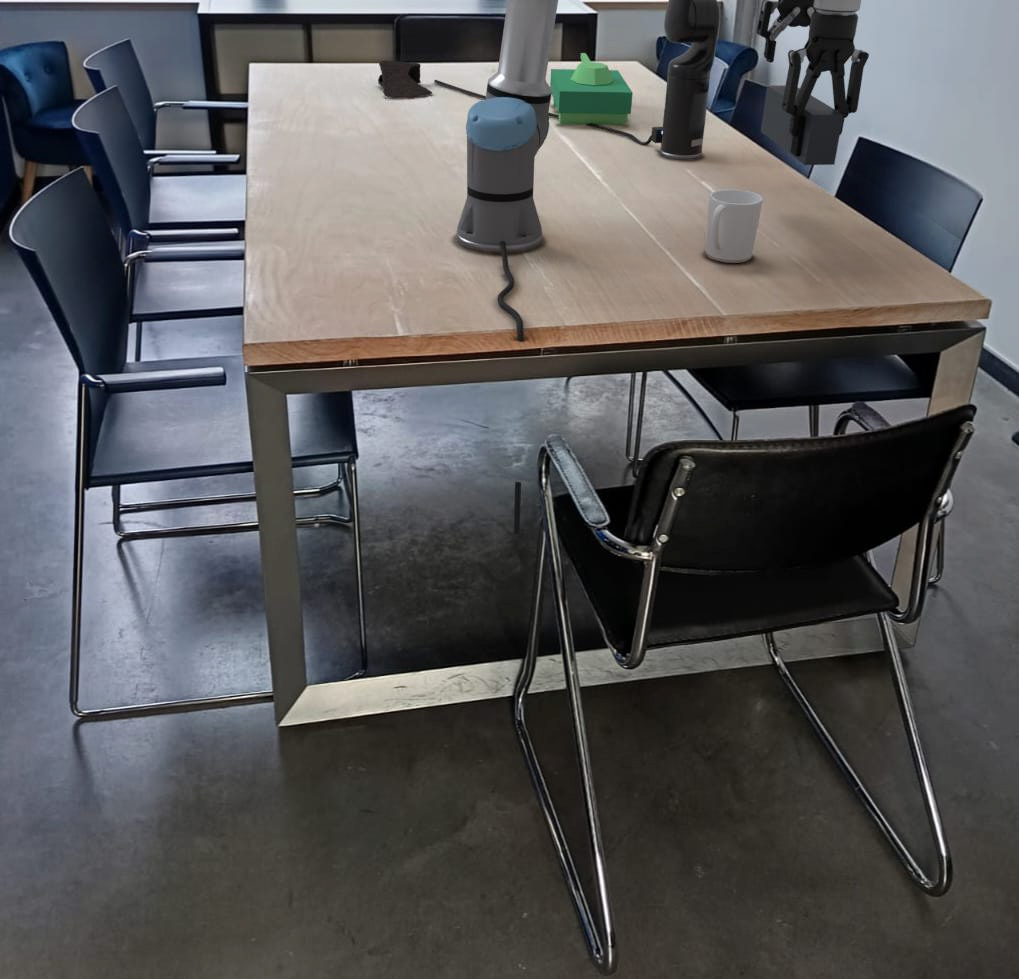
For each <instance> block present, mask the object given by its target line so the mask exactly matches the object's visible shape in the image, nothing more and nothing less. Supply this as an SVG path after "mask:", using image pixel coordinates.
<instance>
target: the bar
mask: <svg viewBox="0 0 1019 979" xmlns="http://www.w3.org/2000/svg"><path fill="white" fill-rule="evenodd" d="M785 86H786V85H767V86H766V93H765V100H764V105H763V113H762V119H761V126H760V133H761V134H763V136H765V137H767V138H768V139H770V140H771V141H772V142H774V143H775V145H777V146H778V147H779V148H782V149H783V150H784V151H786V152H787V153H788V154H789V155H791V156H792V157H793V158H794V159H796V160H798V162H800V163H801V164H803V166H835V163H836V158H837V153H838V146H839V141H840V136H841V135H840V131H841V125H842V120H843V114H841V113H840V112H838V111H836V110H835V109H834V107H832V106H830V105H828V104H826V103H825V102H823V101H821V100H820V99H818V98H817V97H814V96H813V95H812V94H811V95H810V98H809V100H808V102H807V105H806V107H805V110H804V112H803V114H802V116H804V117H805V118H806V122H805V128H804V134H803V141H802V147H801V153H800V156H795V155H793V154H792V153H791V152H790V151H791V145H792V138H793V136H792V135H791V134H789V128H790V121H791V114H789V113H787V112H785V111H784V110H782V102H783V96H784V91H785ZM799 90H800V87H798V88H797V93H796V97H797V94H798V92H799ZM795 99H796V98H795Z"/></svg>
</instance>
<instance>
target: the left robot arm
mask: <svg viewBox="0 0 1019 979" xmlns="http://www.w3.org/2000/svg"><path fill="white" fill-rule="evenodd" d="M558 4H559V0H507V3H506V10H505V18H504V23H503V24H504V26H503V32H502V39H501V46H500V52H499V53H500V54H499V59H498V60H499V61H498V68H497V72H496V73H494V74H493V75H492V76H490V77H489V78H488V79H487V85H486V91H485V92H486V93H485V96H486V98H485V99H484V100H479V101H477V102H475V103H474V104H473V105H471V107H470V108H469V109H468V111H467V119H466V123H465V130H466V131H465V132H466V192H467V193H466V198H465V202H464V205H463V209H462V211H461V214H460V218H459V220H458V224H457V228H456V241H457V243H458V244H459V245H461V246H462V247H464V248H466V249H468V250H470V251H475V252H479V253H486V254H497V255H499V254H500V255H501V262H502V269H503V272H504V275H505V276H506V278H507V280H508V281H507V282H508V283H507V286H506V287H504V288H503V289H502V290H501V291H500V292H499V294H498V295H497V303H498V306H500V308H501V309H503V311H505V312H506V313H508V314H509V315H510V316H511V317H512V318H513V319H514V321H515V323H516V339H517V342H521V343H522V342H524V341H525V336H524V320H523V319H522V317H521V314H520V313H518V311H517V310H516V309H514V308H513V307H512V306H510V305H509V304H508V303H506V301H505V300H504V299H505V297H506V296H507V295H508V294H509V293H510V292H512V290H513V289H514V287H515V278H514V275H513V274H512V272H511V270H510V265H509V257H508V254H517V253H524V252H527V251H530V250H533V249H536V248H538V247H539V246H540V245H541V244H542V243H543V229H542V224H541V221H540V220H541V219H540V218H539V214H538V213H539V212H538V210H537V206H536V204H535V199H534V184H535V181H534V180H535V158H536V155H537V154H538V152H539V150H541V147H542V146H543V145H544V143H545V141H546V139H547V137H548V133H549V130H550V116H548V113H550V107H551V100H552V89H551V88H550V85H549V83H548V82H547V79H546V78H547V74H548V73H547V72H548V66H549V60H550V54H551V47H552V42H553V34H554V29H555V23H556V17H557V10H558ZM861 4H862V0H814V3H813V7H814V8H815V9H816V11H814V12H813V13H812V16H811V22H810V27H809V28H808V38H807V41H806V43H805V44H804V46H803V47H802V48H799V49H796V50H793V49H790V50H789V51H788V52H787V58H788V69H787V75H786V76H787V77H786V81H785V85H784V86H785V91H784V96H783V102H782V110H784V111H785V112H787V113H789V114H791V121H790V128H789V134H791V135H792V136H793V138H792V145H791V151H790V152H791V153H792V154H793V155H795V156H800V153H801V147H802V141H803V134H804V128H805V122H806V118H805V117H804V116H802V114H803V112H804V110H805V107H806V105H807V102H808V100H809V98H810V95H811V96H812V93H813V90H814V88H815V86H816V83H817V81H818V80H819V78H820V77H821V75H822V73H824V72H827V71H828V72H830V75H831V84H832V96H833V109H835V110H836V111H838V112H840V113H841V114H843V120H842V125H841V131H840V136H841V135H842V133H843V131H844V130H843V128H844V125H845V124H844V123H845V119H847V118H848V117H849V115H850V114H855V113H856V112H857V111H858V108H859V100H860V94H861V87H862V80H863V75H864V68H865V66H866V64H867V61H868V60H869V57H870V55H869V53H868V52H866V51H864V50H862V49H857V48H856V46H855V42H854V41H855V37H856V32H857V27H858V22H859V15H858V14H857V12H859V11H860V9H861V6H862V5H861ZM805 57H806V58H807V60H808V65H807V67H806V70H805V74H804V77H803V80H802V83H801V85H800V87H799V81H800V76H801V72H802V63H803V62H804V60H805ZM849 59H850V61H851V64H850V71H849V78H848V84H847V91H846V84H845V76H846V71H845V64H846V63H847V62H848V61H849ZM797 88H800V90H799V92H798V94H797V97H796V93H797ZM795 98H796V99H795ZM521 501H522V482H520V481H515V482H514V505H513V507H514V510H513V516H514V517H513V534H515V535H519V534H520V533H521V505H522V504H521V503H522V502H521Z"/></svg>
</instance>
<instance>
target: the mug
mask: <svg viewBox="0 0 1019 979" xmlns="http://www.w3.org/2000/svg"><path fill="white" fill-rule="evenodd" d="M708 197H709V198H708V208H707V209H708V210H707V223H706V224H707V225H706V238H705V255H706V257H708V258H709V259H711V260H714V261H716V262H719V263H720V262H721V263H728V264H738V263H745V262H748V261H750V260H751V259H752V257H753V253H754V248H755V242H756V237H757V231H758V227H759V222H760V216H761V210H762V206H763V200H764V199H763V196H762V195H760V194H759V193H756V192H753V191H750V190H744V189H736V188H735V189H734V188H725V189H717V190H713V191H711V192H710V193H709V196H708Z"/></svg>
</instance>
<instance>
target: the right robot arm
mask: <svg viewBox="0 0 1019 979" xmlns="http://www.w3.org/2000/svg"><path fill="white" fill-rule="evenodd" d="M813 3H814V0H762V1H761V5H760V10H759V16H758V20H757V26H756V30H755V31H756V32H755V33H756V34H757V35H758V36H760V37H762V38H764V39H765V42H764V50H763V58H764V59H765V60H766V62H767V63H774V61H775V55H776V54H775V53H776V47H777V40H776V39H777V38H778V37H779V35H780V34H781V33H782V32H784V31H785V30H786V29H787V27H790V28H796V27H802V28H808V27H809V28H810V22H811V16H812V13H813V12H814V11H816V9H815V8H814V7H813ZM720 9H721V8H720V5H719V2H718V0H668V2H667V5H666V9H665V15H664V22H663V23H664V24H663V25H664V26H663V27H664V34H665V37H666V39H667V40H668V41H669V42H670V43H672V44H690V47H689V48H688V49H687V50H686V51H685V52H684V53H682V54H681V55H679V56H677V57H675V58H673V59H671V60H670V61H669V63H668V68H667V79H666V89H665V98H664V99H665V101H664V109H663V119H662V126H652V127H651V135H650V136H649V137H648V139H647V141H641V140H639V139H638V138H637V137H636V136H635V135H633V134H632V133H629V132H626V131H623V130H620V129H615V128H613V127H612V128H611V127H607V126H605V125H597V124H593V123H589V124H586V125H585V126H587V127H591V128H594V129H598V130H602V131H606V132H609V133H613V134H617V135H621V136H624V137H628V138H630V139H631V140H632V141H633V142H635V143H637V144H639V145H641V146H649V145H650V144H651V143H654V144H660V150H659V154H660V156H662V157H663V158H667V159H672V160H679V161H691V160H697V159H700V158H701V157H702V156H703V144H704V135H705V125H706V116H707V108H708V98H709V88H710V81H711V72H712V67H713V66H714V62H715V57H716V51H717V50H716V49H717V43H718V38H719V33H720V32H719V31H720V24H721V10H720ZM776 9H777V11H778V13H779V15H778V16H777V17H776V18H775V20H774V21H773V22H772V25H771V26H770V27H769V25H770V21H771V16H772V15H773V14H774V12H775V10H776ZM433 82H434V84H437V85H441V86H444V87H446V88H449V89H452V90H454V91H457V92H461V93H463V94H467V95H471V96H473V97H477V98H479V99H483V100H485V98H486V95H484V94H480V93H477V92H473V91H470V90H467V89H465V88H461V87H458V86H455V85H453V84H449V83H447V82H443V81H440V80H439V79H434V80H433ZM548 116H549V117H552V118H556V119H559V114H557V113H553V112H549V113H548Z"/></svg>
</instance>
